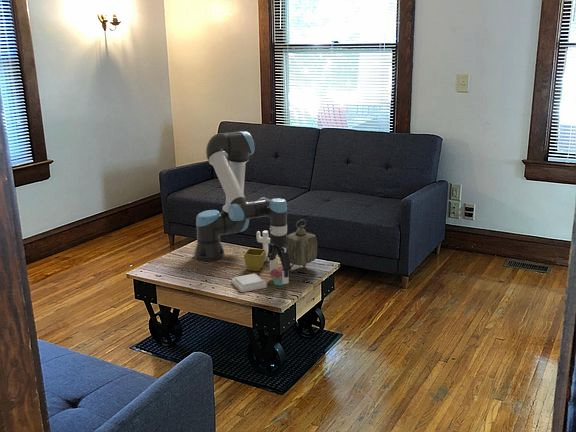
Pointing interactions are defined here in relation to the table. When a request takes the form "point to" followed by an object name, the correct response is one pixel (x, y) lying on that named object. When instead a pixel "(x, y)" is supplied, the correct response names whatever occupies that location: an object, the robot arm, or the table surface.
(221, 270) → the table surface
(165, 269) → the table surface
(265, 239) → the figurine
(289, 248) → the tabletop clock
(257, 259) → the flower pot
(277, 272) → the cupcake
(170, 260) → the table surface
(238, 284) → the pedestal
